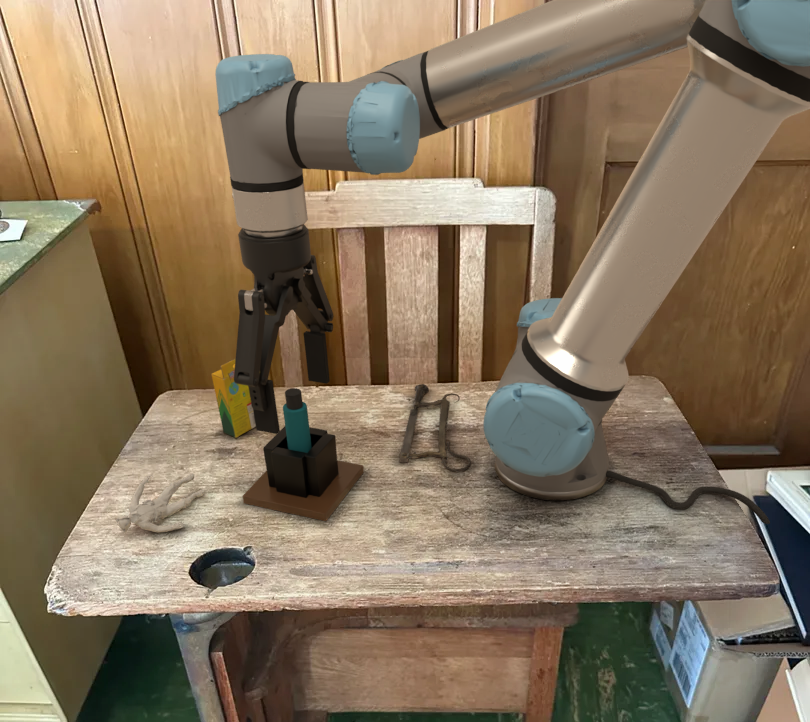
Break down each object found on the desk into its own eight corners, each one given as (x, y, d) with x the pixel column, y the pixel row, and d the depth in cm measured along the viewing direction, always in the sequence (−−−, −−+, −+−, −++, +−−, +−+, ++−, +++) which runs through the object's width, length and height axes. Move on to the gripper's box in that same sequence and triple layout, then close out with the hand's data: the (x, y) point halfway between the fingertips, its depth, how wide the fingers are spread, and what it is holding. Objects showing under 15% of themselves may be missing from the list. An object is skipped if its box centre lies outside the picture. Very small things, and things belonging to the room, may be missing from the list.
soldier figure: (219, 510, 100) (156, 536, 89) (197, 527, 102) (133, 555, 92) (186, 461, 100) (119, 481, 89) (165, 479, 102) (97, 501, 92)
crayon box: (258, 413, 118) (247, 343, 111) (271, 419, 117) (261, 347, 110) (221, 432, 114) (207, 360, 107) (235, 438, 112) (221, 366, 105)
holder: (364, 472, 104) (360, 426, 100) (326, 521, 96) (321, 473, 91) (286, 457, 108) (280, 412, 104) (243, 503, 99) (234, 456, 95)
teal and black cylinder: (319, 476, 102) (309, 388, 94) (308, 488, 100) (298, 398, 92) (299, 472, 103) (287, 384, 95) (288, 483, 100) (276, 395, 92)
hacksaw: (415, 389, 124) (415, 381, 123) (478, 391, 122) (479, 383, 121) (395, 469, 105) (395, 460, 104) (470, 473, 104) (470, 464, 103)
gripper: (295, 194, 91) (312, 359, 104) (175, 259, 73) (214, 449, 86) (352, 199, 89) (362, 366, 102) (243, 267, 71) (272, 460, 84)
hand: (295, 404), depth 94 cm, fingers open, 13 cm apart
